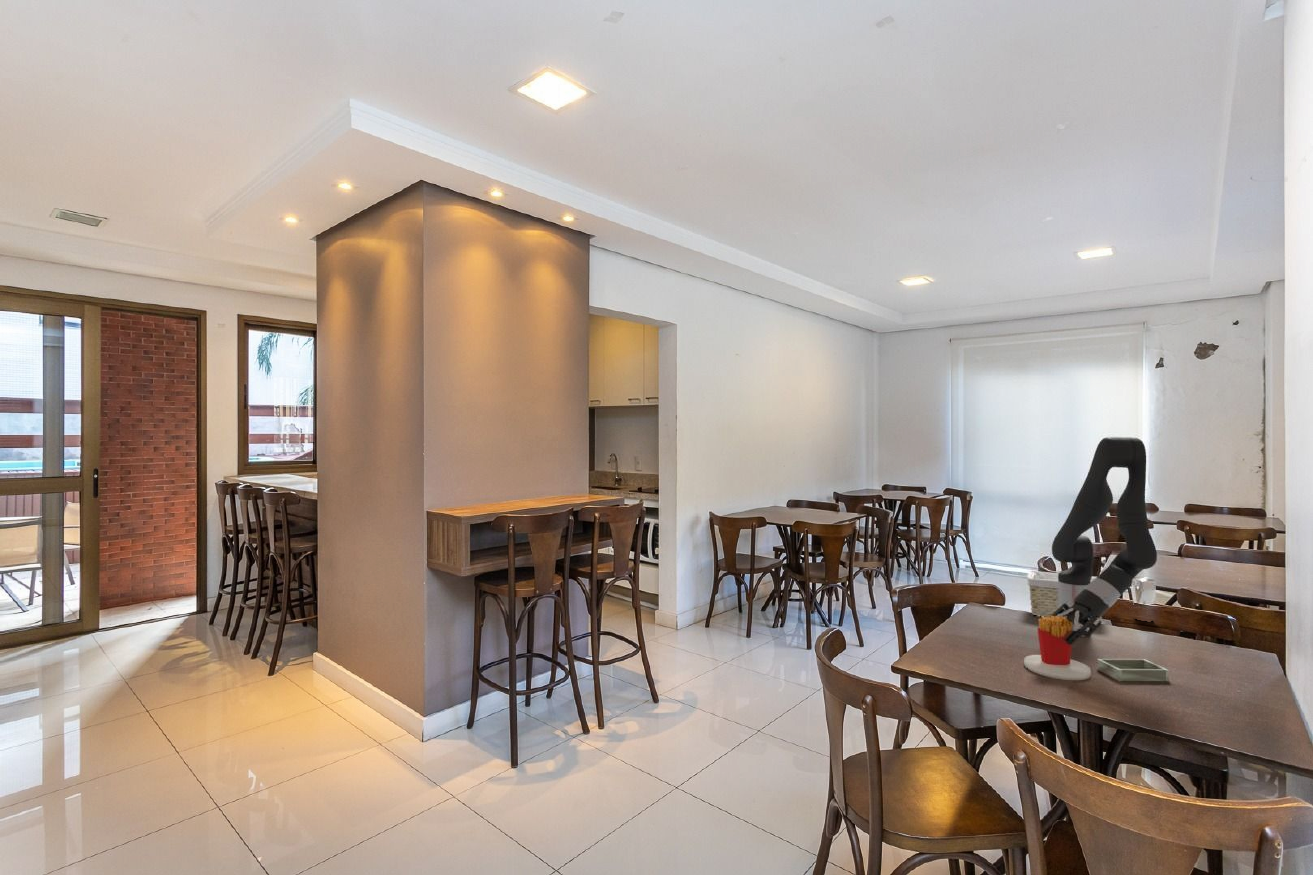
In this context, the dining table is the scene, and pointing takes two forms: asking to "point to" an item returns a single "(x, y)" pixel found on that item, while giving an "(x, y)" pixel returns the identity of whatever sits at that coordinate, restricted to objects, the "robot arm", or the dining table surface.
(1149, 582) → the beer glass
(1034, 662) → the ceramic plate
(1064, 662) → the french fries
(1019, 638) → the dining table surface
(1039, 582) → the storage basket
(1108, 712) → the dining table surface
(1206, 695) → the dining table surface
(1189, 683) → the dining table surface
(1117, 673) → the open rectangular box
